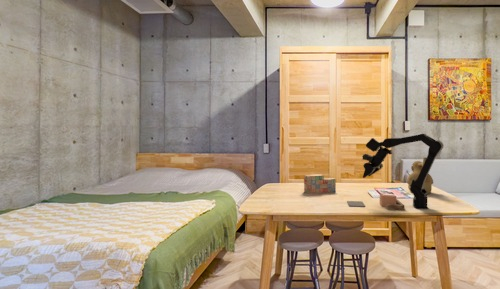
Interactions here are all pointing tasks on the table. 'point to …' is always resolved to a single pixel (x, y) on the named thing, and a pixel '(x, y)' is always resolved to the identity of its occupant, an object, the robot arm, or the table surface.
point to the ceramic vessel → (416, 171)
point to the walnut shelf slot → (396, 206)
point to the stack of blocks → (319, 184)
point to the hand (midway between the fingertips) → (366, 176)
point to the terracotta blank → (387, 199)
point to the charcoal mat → (355, 204)
